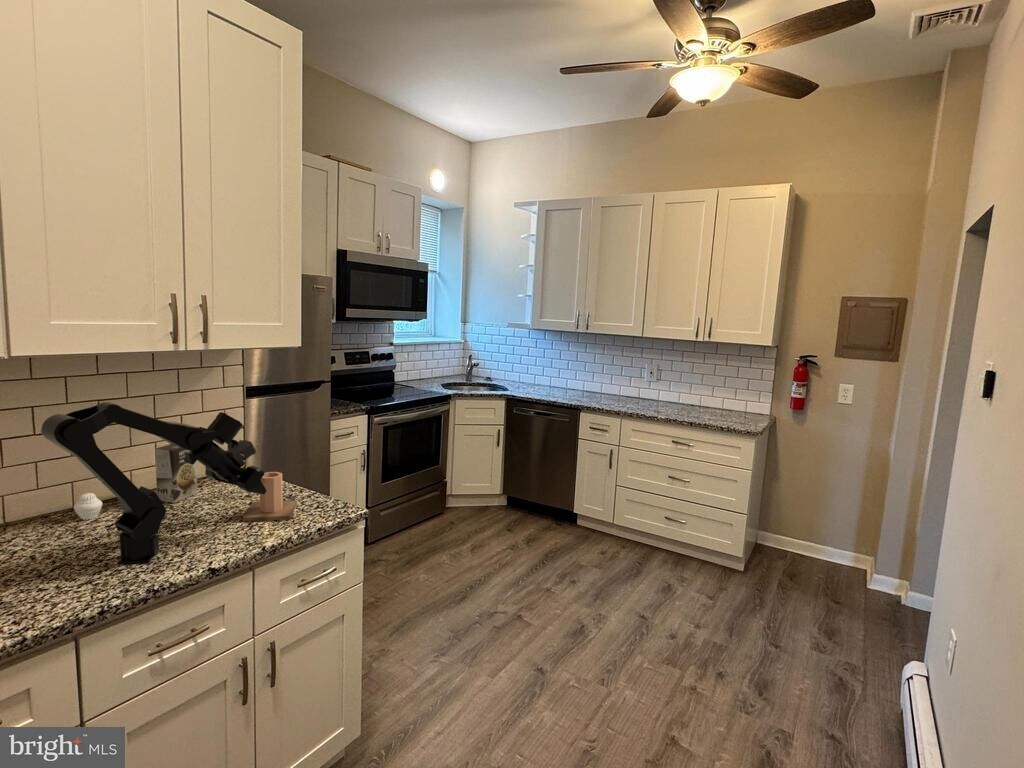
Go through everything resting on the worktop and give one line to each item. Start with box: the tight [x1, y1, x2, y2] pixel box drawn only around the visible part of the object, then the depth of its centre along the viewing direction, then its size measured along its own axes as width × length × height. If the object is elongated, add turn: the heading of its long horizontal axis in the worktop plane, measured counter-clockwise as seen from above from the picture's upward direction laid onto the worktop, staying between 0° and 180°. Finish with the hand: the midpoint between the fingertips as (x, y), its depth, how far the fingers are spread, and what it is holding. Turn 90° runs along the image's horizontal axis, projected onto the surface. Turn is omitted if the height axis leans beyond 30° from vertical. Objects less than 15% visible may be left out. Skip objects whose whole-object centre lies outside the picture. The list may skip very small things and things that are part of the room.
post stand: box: [242, 499, 298, 523], centre depth 158 cm, size 12×12×5 cm
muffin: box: [73, 492, 103, 521], centre depth 149 cm, size 6×6×7 cm
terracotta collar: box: [259, 471, 284, 513], centre depth 157 cm, size 6×6×10 cm
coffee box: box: [154, 443, 198, 504], centre depth 165 cm, size 9×6×16 cm
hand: (254, 488), depth 153 cm, fingers open, 9 cm apart
